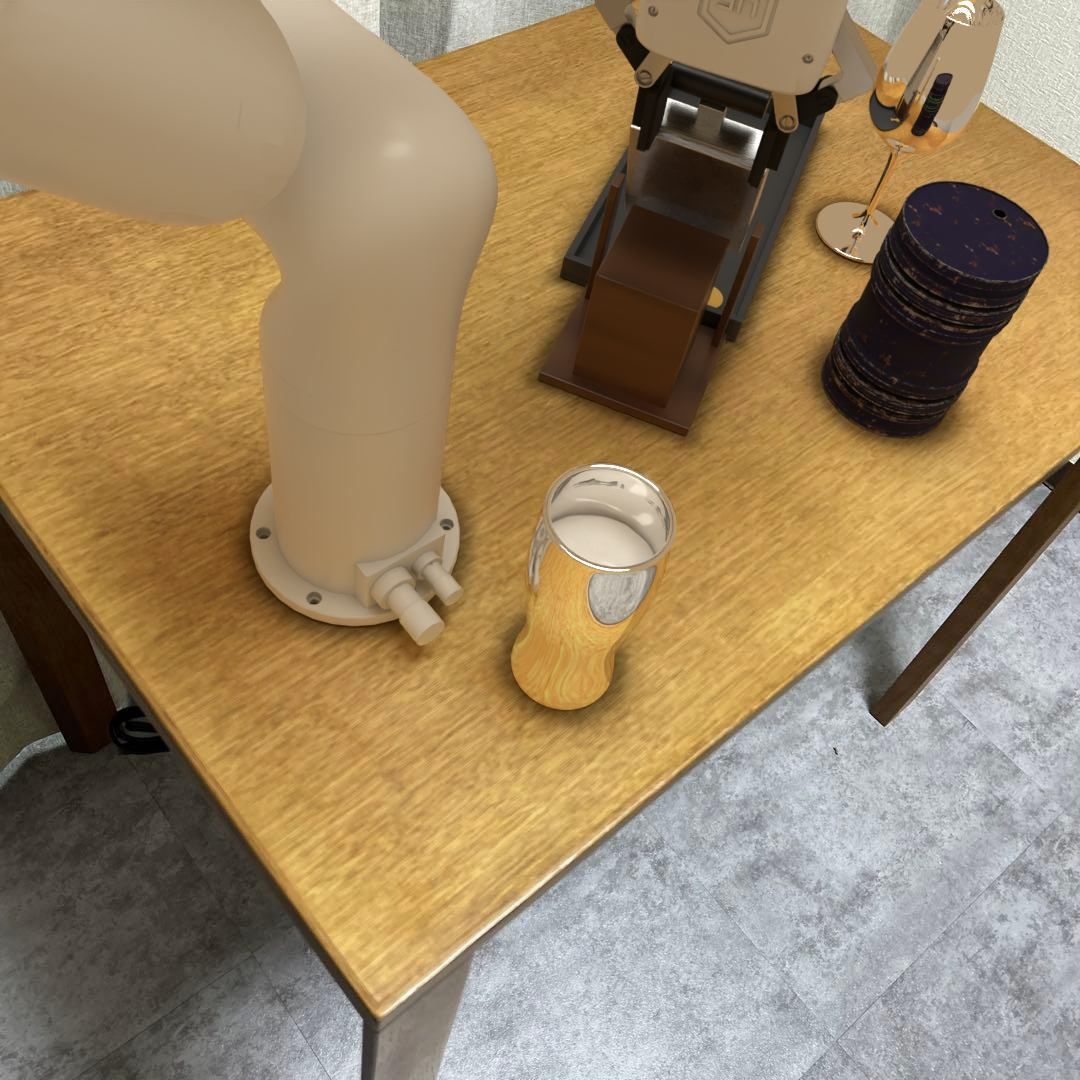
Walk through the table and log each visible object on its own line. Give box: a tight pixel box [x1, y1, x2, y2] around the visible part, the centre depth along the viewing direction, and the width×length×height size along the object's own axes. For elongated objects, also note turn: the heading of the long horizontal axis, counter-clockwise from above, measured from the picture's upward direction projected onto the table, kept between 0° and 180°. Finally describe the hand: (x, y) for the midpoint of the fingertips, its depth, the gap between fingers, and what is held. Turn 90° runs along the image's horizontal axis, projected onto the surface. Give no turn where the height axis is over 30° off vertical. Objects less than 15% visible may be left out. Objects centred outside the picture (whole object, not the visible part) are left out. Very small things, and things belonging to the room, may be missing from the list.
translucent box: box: [624, 61, 773, 252], centre depth 70 cm, size 14×9×4 cm
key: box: [707, 287, 723, 309], centre depth 85 cm, size 7×3×1 cm, turn 5°
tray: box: [559, 88, 826, 343], centre depth 92 cm, size 30×14×2 cm, turn 159°
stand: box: [537, 172, 765, 437], centre depth 76 cm, size 10×11×11 cm
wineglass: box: [815, 0, 1006, 265], centre depth 85 cm, size 8×8×20 cm
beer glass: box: [510, 461, 678, 711], centre depth 59 cm, size 7×7×15 cm
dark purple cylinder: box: [820, 180, 1050, 439], centre depth 77 cm, size 10×10×15 cm
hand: (703, 153), depth 65 cm, fingers open, 6 cm apart
